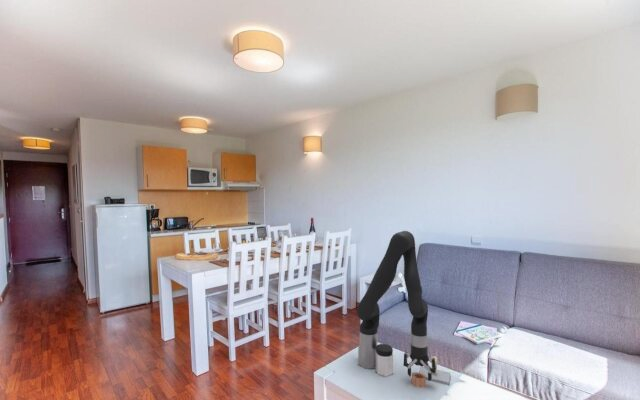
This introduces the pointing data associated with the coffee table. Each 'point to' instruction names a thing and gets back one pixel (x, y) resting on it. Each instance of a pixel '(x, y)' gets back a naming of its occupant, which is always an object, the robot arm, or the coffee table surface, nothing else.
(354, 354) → the coffee table surface
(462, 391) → the coffee table surface
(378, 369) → the jar
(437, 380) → the post block
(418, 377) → the ring
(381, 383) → the coffee table surface
